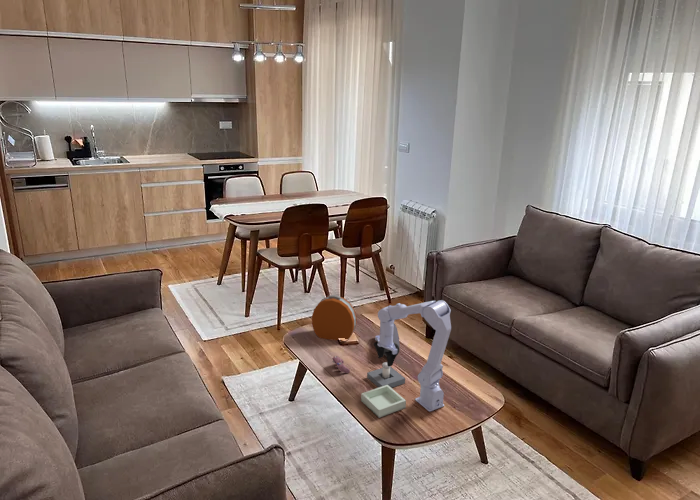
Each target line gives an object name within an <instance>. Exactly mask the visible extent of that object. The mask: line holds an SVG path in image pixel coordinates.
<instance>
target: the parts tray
mask: <svg viewBox="0 0 700 500" xmlns="http://www.w3.org/2000/svg"><path fill="white" fill-rule="evenodd" d="M360 401H361V402H362V403H363V405H365V406H366V407H367V408H368V409H369V410H370V411H371V412H372V413H373V414H374V415H375V416H376V417H377V418H379V419H380V418H382V417H385V416H388V415H390V414H393V413H395V412H398V411H399V412H400V411H401V410H405V409H406V408H407V406H406V405H407V400H406V399H405V398H404V397H402V395H400V393H398V392H397V391H396V390H394V388H391V387H390V386H389V385H385V386H382V387H379V388H378V387H376V388H373V389H370V390H367V391H365V392H361V396H360Z"/></svg>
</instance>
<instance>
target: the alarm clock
mask: <svg viewBox="0 0 700 500" xmlns="http://www.w3.org/2000/svg"><path fill="white" fill-rule="evenodd" d="M357 317H358V316H357V314H356V311H355V308H354V306H353V305H352V303H351V302H350V301H348V300H347V299H346V298H345V297H342V296H339V295H335V294H330V295H327V296H325V297H324V298H322V299H321V300H320V301H319V302H318V303H317V305H316V306H315V308H314V309H313V312H312V315H311V326H312V329H313V331H314V333H315V334H316V335H315V336H317V337H318V338H319V339H324V340H329V341H330V340H331V341H337V340H338V338H345V339H348V340H350V338H351V336H352V335H353V334H354V332H355V330H356V328H357V324H358V321H357Z"/></svg>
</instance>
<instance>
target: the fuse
mask: <svg viewBox="0 0 700 500" xmlns="http://www.w3.org/2000/svg"><path fill="white" fill-rule="evenodd" d="M390 367H392V366H388V365H387V361H385V362H382V364H381V368H383V373H382V378H383V379H384V380H385V379H388V378H390Z"/></svg>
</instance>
